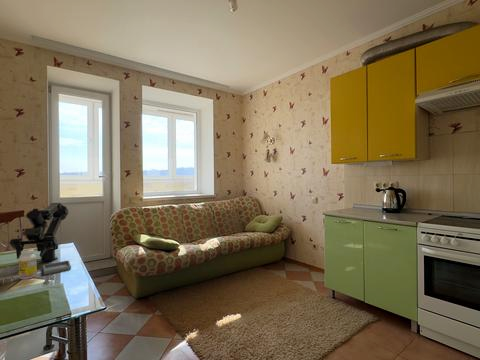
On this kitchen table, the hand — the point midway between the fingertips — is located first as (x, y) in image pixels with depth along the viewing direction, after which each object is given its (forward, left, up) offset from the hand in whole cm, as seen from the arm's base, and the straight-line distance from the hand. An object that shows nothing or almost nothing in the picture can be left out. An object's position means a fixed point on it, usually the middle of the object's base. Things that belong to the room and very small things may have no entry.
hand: (29, 257), depth 128 cm
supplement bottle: (+1, 0, -9) cm, 9 cm away
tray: (-9, +7, -9) cm, 14 cm away
